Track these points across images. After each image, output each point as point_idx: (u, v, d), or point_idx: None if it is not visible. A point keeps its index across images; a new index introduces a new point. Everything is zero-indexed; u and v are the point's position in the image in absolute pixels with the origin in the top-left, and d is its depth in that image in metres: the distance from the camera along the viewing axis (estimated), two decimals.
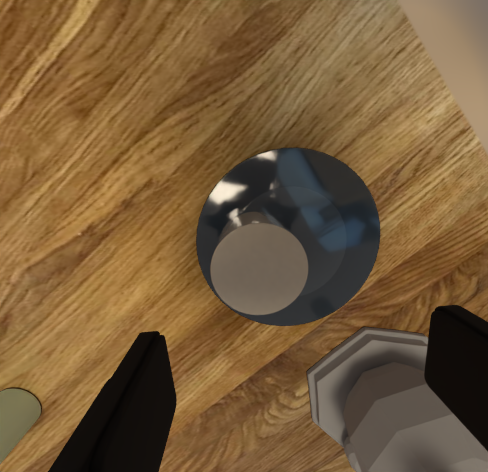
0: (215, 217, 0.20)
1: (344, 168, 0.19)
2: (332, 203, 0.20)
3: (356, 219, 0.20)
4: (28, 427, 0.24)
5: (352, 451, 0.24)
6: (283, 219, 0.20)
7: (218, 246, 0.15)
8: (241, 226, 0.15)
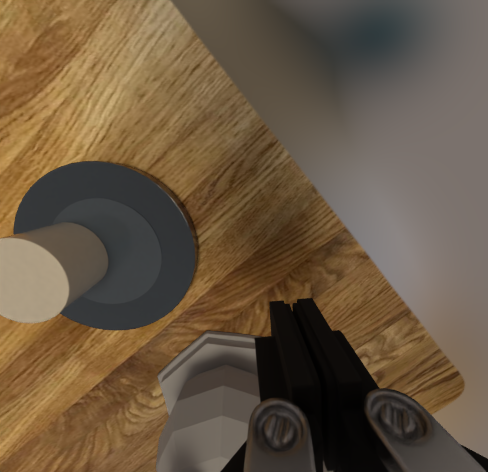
0: (29, 227, 0.21)
1: (146, 181, 0.20)
2: (139, 214, 0.20)
3: (167, 229, 0.21)
4: None
5: None
6: (94, 229, 0.21)
7: None
8: None
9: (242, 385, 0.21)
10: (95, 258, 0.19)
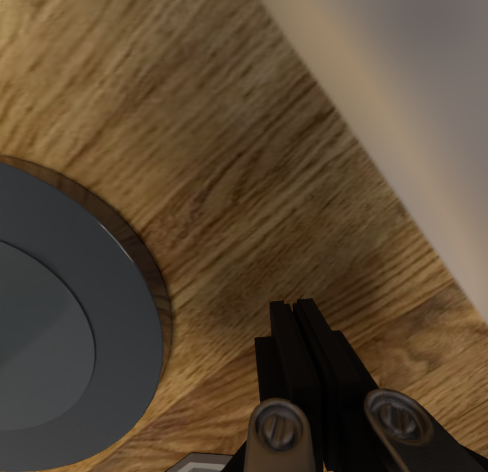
0: None
1: (48, 193, 0.09)
2: (40, 264, 0.09)
3: (103, 292, 0.10)
4: None
5: None
6: None
7: None
8: None
9: None
10: None
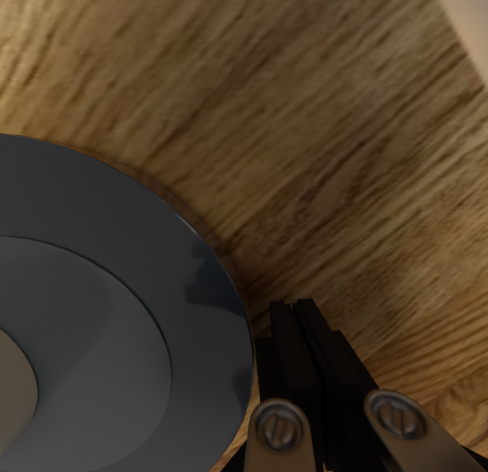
0: None
1: (133, 190, 0.07)
2: (115, 279, 0.08)
3: (188, 314, 0.08)
4: None
5: None
6: None
7: None
8: None
9: None
10: None
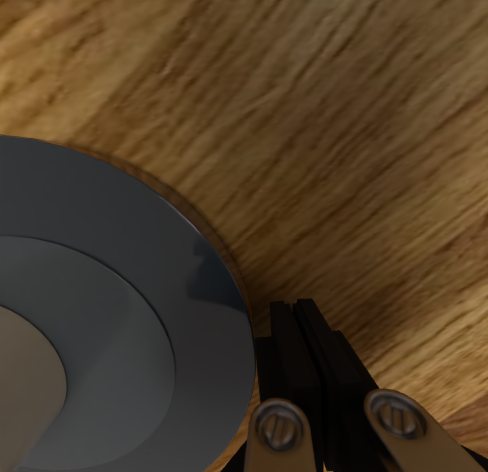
0: None
1: (137, 191, 0.07)
2: (120, 278, 0.08)
3: (191, 311, 0.08)
4: None
5: None
6: None
7: None
8: None
9: None
10: (19, 408, 0.07)
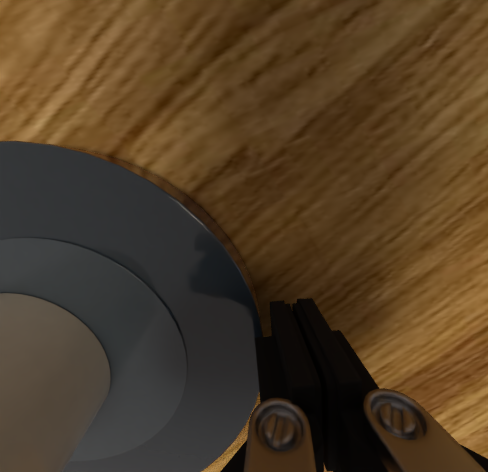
0: None
1: (149, 192, 0.08)
2: (134, 275, 0.08)
3: (202, 307, 0.09)
4: None
5: None
6: None
7: None
8: None
9: None
10: (76, 398, 0.07)
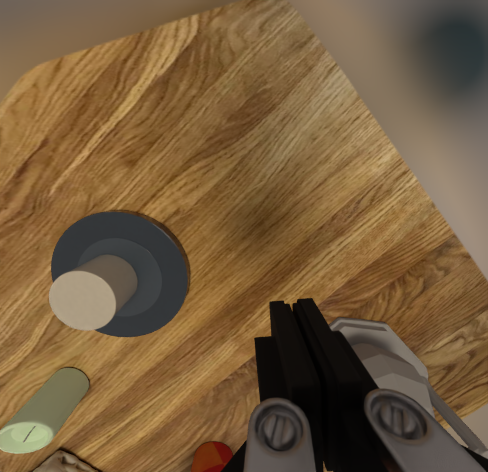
0: (63, 260, 0.28)
1: (149, 224, 0.27)
2: (145, 248, 0.27)
3: (166, 258, 0.28)
4: (81, 397, 0.32)
5: None
6: None
7: (51, 286, 0.23)
8: (65, 273, 0.23)
9: (389, 355, 0.27)
10: (130, 281, 0.26)
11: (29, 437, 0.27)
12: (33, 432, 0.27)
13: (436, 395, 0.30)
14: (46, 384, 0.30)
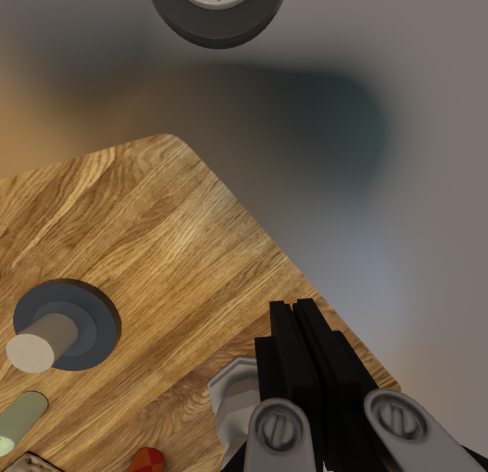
0: (21, 316, 0.37)
1: (84, 291, 0.36)
2: (82, 308, 0.37)
3: (99, 315, 0.37)
4: (40, 414, 0.41)
5: None
6: None
7: None
8: (17, 335, 0.32)
9: None
10: (69, 334, 0.36)
11: None
12: (0, 442, 0.37)
13: None
14: (12, 405, 0.40)
